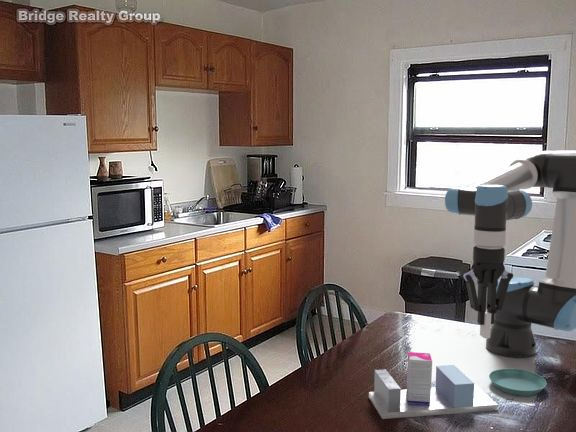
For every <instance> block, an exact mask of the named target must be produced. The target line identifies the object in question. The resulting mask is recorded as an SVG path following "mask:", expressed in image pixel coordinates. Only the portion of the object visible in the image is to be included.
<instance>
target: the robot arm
mask: <svg viewBox="0 0 576 432" xmlns="http://www.w3.org/2000/svg"><path fill="white" fill-rule="evenodd" d="M531 188H549V189H552V194H553V196H554V197H555V198H556V202H555V203H556V204H555V208H554V217H553V224H552V229H551V230H552V231H551V235H550V236H551V237H550V243H549V250H548V256H547V264H546V270H545V276H544V277H543V278H541V279H540V280H538V286H537V285H535V281H534V279H532V278H528V277H514V274H513V273H512V272H509V271H508V270H506V266H505V265H504V262H505V254H506V253H505V252H506V251H505V246H506V235H507V234H506V233H507V232H506V230H507V221H510V220H518V219H521V218H524V217H526V216H527V215H529V213H530V212H531V211H532V208H533V200H532V197H531V196H530V195H529V193H527V191H524V190H529V189H531ZM444 203H445V204H444V205H445V209H446V210H447V211H448V212H449V213H452V214H458V215H462V216H463V215H465V216H474V229H473V244H474V246H473V251H472V262H473V263H472V265H471V269H470V270H469V271H467V272H463V273H462V275H461V277H462V278H463V280H464V281H465V286H466V290H467V294H468V295H467V296H468V300H469V301H468V302H469V306H470V308H471V309H472V310H474V311H476V312H477V320H476V321H477V324H479V326H480V327H479V335H480V336H481V338H484V339H486V341H485V347H486V349H487V350H488V351H490V352H492V353H494V354H497V355H499V356H504V357H508V358H509V357H510V358H528V357H533V356H534V355H536V353H537V344H536V339H535V336H534V333H533V329H532V324H534V325H537V326H542V327H546V328H551V329H554V330H556V331H558V330H559V331H563V332H572V331H574V330H576V150H553V149H552V150H550V149H548V150H542V151H538V152H535V153H531V154H528V155H525V156H524V157H520V158H518V159H516V160H514V161H513V162H512V163H510V165H509V166H508V167H507V168H505V169H502V170H500V171H498V172H496V173H494V174H492V175H489V176H487V177H485V178H483V179H481V180H478V181H476V182H474V183H472V184H470V185H468V186H464V187H462V186H452V187H449V189H448V190H447V191H446V193H445V196H444ZM475 279H476V280H477V281H476V282H477V289H476V284H475V281H474V280H475Z"/></svg>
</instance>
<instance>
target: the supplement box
mask: <svg viewBox="0 0 576 432" xmlns="http://www.w3.org/2000/svg"><path fill="white" fill-rule="evenodd" d="M432 372H433V360H432V356H431V353H429V352H413V351H408V353H407V371H406V389H407V390H406V396H407V401H408V403H422V404H430V399H431V388H432V377H433V376H432V374H433V373H432Z"/></svg>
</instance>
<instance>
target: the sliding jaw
mask: <svg viewBox="0 0 576 432" xmlns="http://www.w3.org/2000/svg"><path fill="white" fill-rule="evenodd" d="M474 385H475V383H474V381H472V380H471V379H470V378H469V377H468V376H467V375H466V374H465V373H464V372H463V371H461V370H460V369H459V368H458V366H456V365H455V364H445V365H435V387H436V388H437V389H438V390H439V391H440V393H441V394H442V395H443V396H444V397H445V398H446V399H447V400H448V401H449V402H450V403H451V404H452V406H453V407H454V408H456V407H470V406H473V405H474Z"/></svg>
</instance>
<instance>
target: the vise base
mask: <svg viewBox="0 0 576 432" xmlns="http://www.w3.org/2000/svg"><path fill="white" fill-rule="evenodd" d="M373 386H374V389H373V390H374V391H369V392H368V399H369V400H370V401H371V403H372V405H373V406H374V408H375V409H376V411H377V413H378V414H379V416H380V418H381V419H382V420H385V419H387V420H388V419H398V418H399V419H400V418H402V419H403V418H413V417H415V418H416V417H424V416H426V417H427V416H441V415H451V414H463V413H467V414H468V413H481V412H491V411H492V412H493V411H499V410H498V409H499V407H498V406H499V404H498V403H497V402H496V401H494V400H493V398H491V397H490V396H489V395H488V393H486V392H485V391H483V389H482V388H481V387H480V386H478V385H477V384H474V405H473V406H470V407H456V408H454V407H453V406H452V404H451V403H450V402H449V401H448V400H447V399H446V398H445V397H444V396H443V395H442V394H441V393H440V391H439V390H438V389H437V388H436V386H435V387H431V399H430V404H422V403H408V401H407V396H406V390H407V388H405V389H401V388H402V387H400V386H399V384H398V383H397V382H396V380H395V379H394V378H393V377H392V375H391V374H390V373H389V372H388V370H387V369H386V368H385V369H374V385H373Z"/></svg>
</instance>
